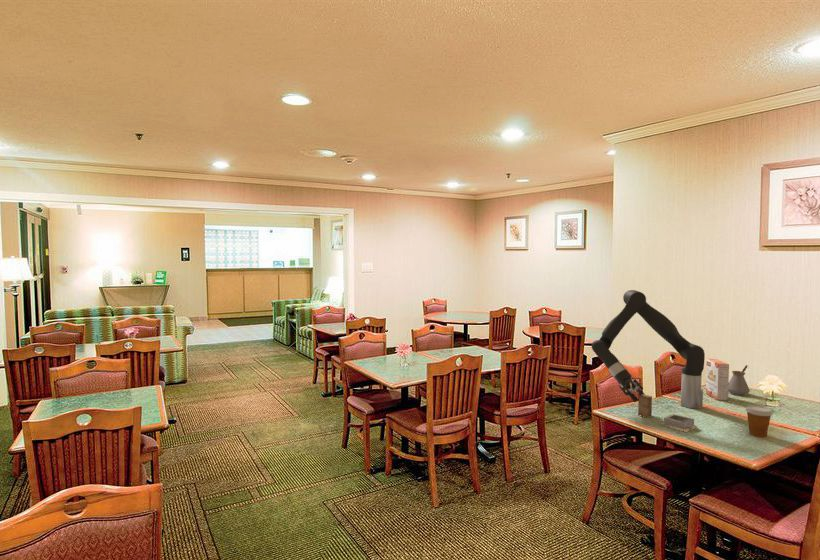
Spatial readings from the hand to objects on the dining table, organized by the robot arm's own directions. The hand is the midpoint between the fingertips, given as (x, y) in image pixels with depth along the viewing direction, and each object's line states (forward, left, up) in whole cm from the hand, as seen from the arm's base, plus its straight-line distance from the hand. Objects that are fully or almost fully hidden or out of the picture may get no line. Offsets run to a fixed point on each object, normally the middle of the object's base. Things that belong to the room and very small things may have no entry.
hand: (640, 399), depth 240 cm
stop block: (-1, +2, -8) cm, 8 cm away
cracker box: (-57, -34, -8) cm, 67 cm away
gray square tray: (-10, +17, -8) cm, 21 cm away
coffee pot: (-78, -46, -8) cm, 91 cm away
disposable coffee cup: (-40, +26, -8) cm, 49 cm away
